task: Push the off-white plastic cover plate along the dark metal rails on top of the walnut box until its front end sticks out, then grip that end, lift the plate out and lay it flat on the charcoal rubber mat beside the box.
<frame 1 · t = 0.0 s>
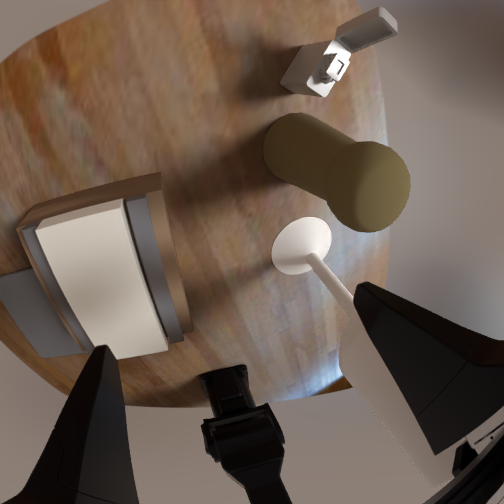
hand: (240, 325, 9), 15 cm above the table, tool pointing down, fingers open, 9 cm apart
champagne flute: (301, 246, 28), on the table
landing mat: (42, 317, 22), on the table
cork: (296, 147, 22), on the table
lid box: (113, 258, 22), on the table
cover plate: (108, 288, 19), point 4 cm above the table, touching lid box
lighter: (307, 55, 18), on the table
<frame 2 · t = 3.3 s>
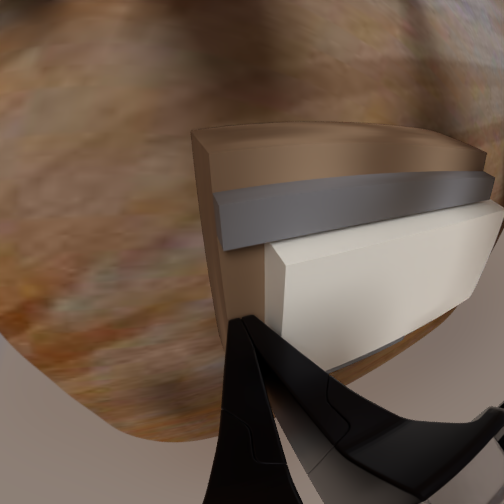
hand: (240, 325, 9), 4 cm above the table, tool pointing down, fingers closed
lid box: (333, 230, 14), on the table
cover plate: (403, 268, 11), point 4 cm above the table
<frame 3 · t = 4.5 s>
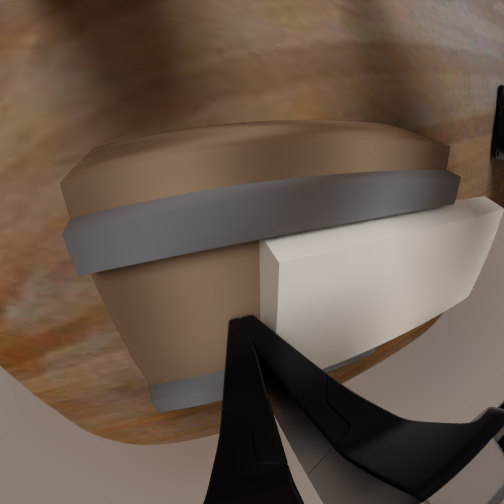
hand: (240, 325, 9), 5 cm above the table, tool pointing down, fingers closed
lid box: (264, 241, 13), on the table
cover plate: (399, 268, 11), point 4 cm above the table, touching gripper, lid box
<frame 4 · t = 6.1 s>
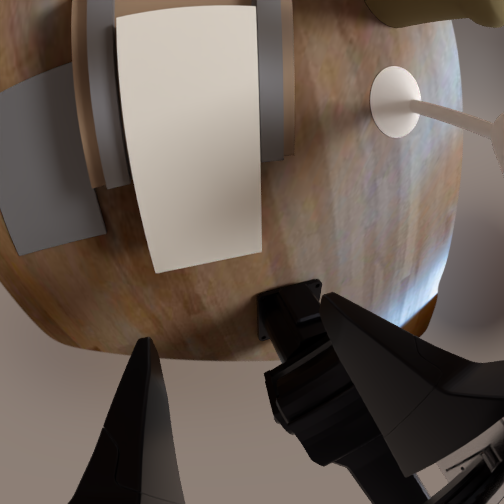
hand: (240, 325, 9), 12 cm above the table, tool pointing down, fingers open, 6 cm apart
champagne flute: (396, 101, 19), on the table
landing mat: (35, 166, 14), on the table
lid box: (179, 53, 13), on the table
cover plate: (191, 137, 13), point 4 cm above the table, touching lid box
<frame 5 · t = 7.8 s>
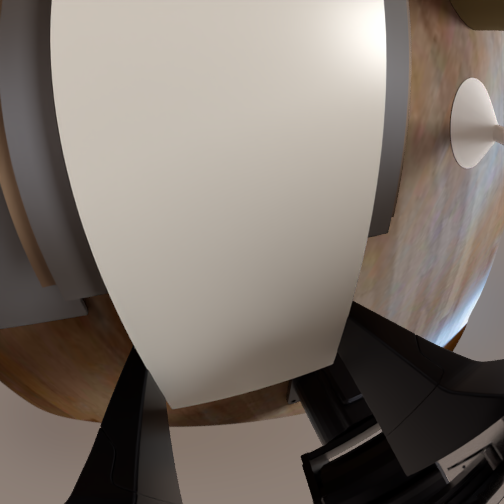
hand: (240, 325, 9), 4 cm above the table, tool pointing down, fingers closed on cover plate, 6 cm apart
champagne flute: (472, 123, 13), on the table
lid box: (195, 23, 7), on the table
cover plate: (229, 190, 6), point 4 cm above the table, touching gripper, lid box
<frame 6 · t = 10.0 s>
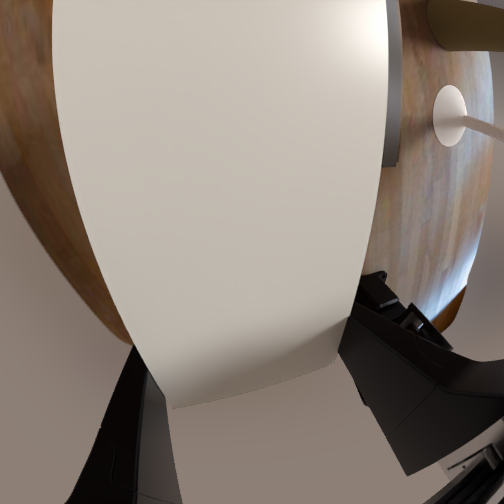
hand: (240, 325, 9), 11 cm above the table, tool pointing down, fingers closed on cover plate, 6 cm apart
champagne flute: (449, 115, 20), on the table
cork: (443, 24, 14), on the table
lid box: (297, 58, 15), on the table
cover plate: (231, 188, 6), point 11 cm above the table, touching gripper
when the fingers open (1 cm above the table, at t = 12.3 s): cover plate stays where it is, resting on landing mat.
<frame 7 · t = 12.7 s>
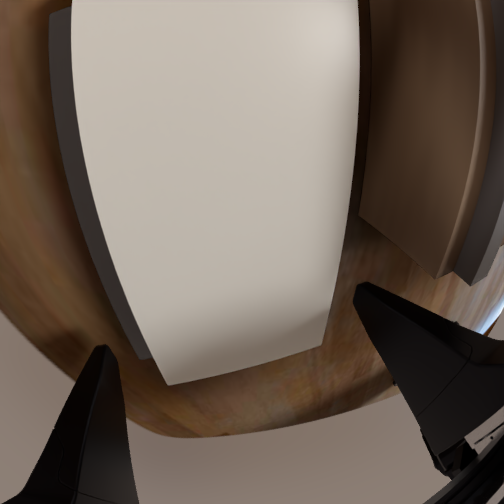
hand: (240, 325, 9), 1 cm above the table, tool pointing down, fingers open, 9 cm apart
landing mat: (219, 194, 8), on the table
lid box: (459, 71, 7), on the table
cover plate: (222, 176, 7), resting on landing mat
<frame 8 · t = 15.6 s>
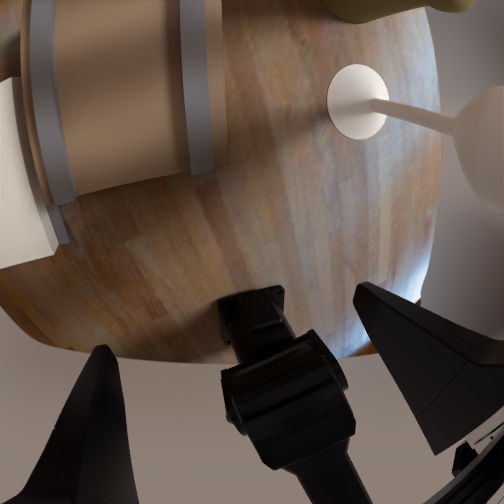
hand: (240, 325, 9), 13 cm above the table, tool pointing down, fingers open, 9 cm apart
champagne flute: (359, 101, 19), on the table
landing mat: (6, 182, 14), on the table
lid box: (124, 71, 13), on the table
cover plate: (3, 176, 13), resting on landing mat
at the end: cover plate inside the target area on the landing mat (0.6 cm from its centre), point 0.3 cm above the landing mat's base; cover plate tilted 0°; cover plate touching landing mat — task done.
